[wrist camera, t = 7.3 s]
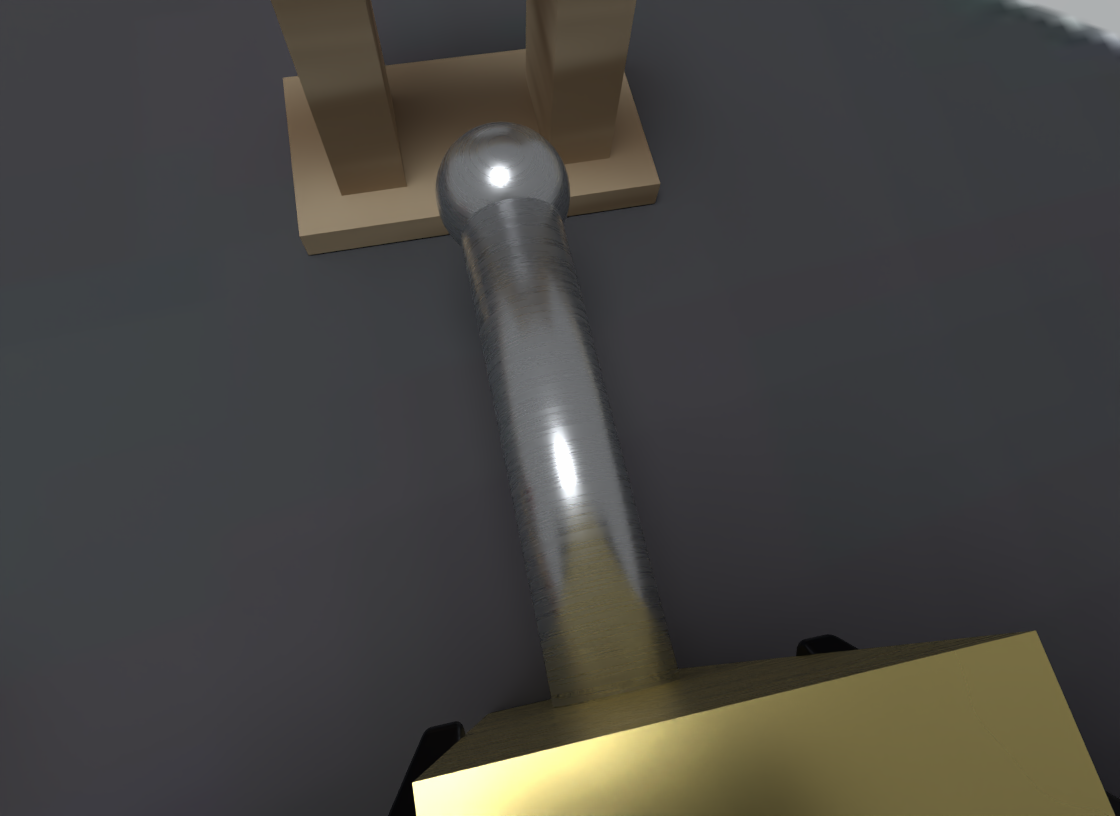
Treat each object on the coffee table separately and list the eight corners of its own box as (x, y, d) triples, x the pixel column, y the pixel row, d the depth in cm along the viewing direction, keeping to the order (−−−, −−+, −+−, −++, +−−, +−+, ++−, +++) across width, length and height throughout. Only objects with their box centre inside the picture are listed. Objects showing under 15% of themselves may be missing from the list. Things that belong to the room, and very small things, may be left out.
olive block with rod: (721, 831, 14) (1298, 1242, 4) (517, 885, 13) (508, 1541, 3) (576, 270, 18) (650, -268, 8) (418, 295, 18) (279, -243, 7)
